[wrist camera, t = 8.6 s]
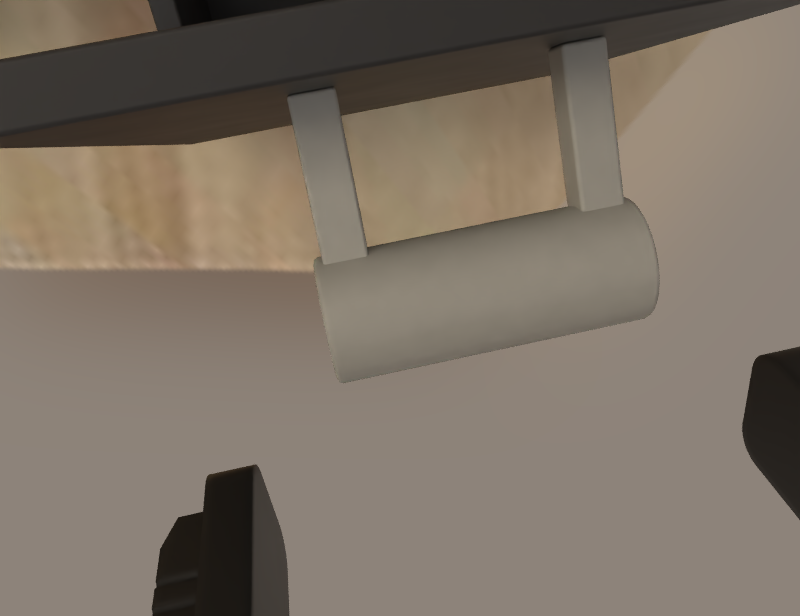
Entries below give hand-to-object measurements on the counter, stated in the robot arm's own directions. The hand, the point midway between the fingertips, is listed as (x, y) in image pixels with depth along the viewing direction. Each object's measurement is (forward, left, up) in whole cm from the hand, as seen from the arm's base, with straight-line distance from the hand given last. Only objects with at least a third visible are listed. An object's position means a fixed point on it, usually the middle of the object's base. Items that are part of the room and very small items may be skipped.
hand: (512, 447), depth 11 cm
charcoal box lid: (-4, +2, -8) cm, 9 cm away
